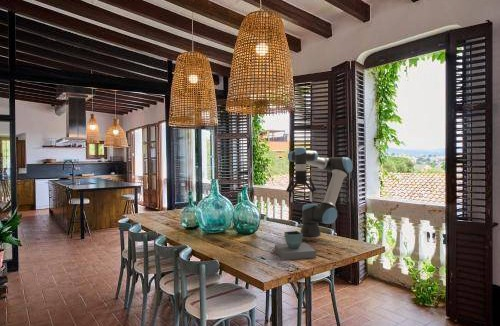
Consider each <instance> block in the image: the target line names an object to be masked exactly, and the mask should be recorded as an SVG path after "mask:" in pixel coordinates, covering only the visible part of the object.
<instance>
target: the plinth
mask: <svg viewBox="0 0 500 326" xmlns="http://www.w3.org/2000/svg"><path fill="white" fill-rule="evenodd" d="M274 252H275V253H276V254H277V255H278V256H279V257H280V258H281V259H282V261H285V260H289V261H290V260H300V259H316V258H317V250H315V248H313V247H311V246H310V245H309V244H307V243H306V242H302V243H301V245H300V247H299V248H290V247H288V245H287V243H275V244H274Z"/></svg>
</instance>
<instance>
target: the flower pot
mask: <svg viewBox="0 0 500 326" xmlns="http://www.w3.org/2000/svg"><path fill="white" fill-rule="evenodd" d="M283 233H284V240H285V244H287V245H288V247H290V248H299V247H300V245H301V243H303V242H302V241H303V236H302V235H303V234H302V233H300V231H298V230H293V231H284V232H283Z"/></svg>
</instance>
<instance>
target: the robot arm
mask: <svg viewBox="0 0 500 326" xmlns="http://www.w3.org/2000/svg"><path fill="white" fill-rule="evenodd" d="M287 159H288V161H289V162H293V163H294V164H295V167H294V170H295V172H294V173H295V175H294V177H291V178H290V182H289V184H288V186H287V188H286V190H285V191H286V192H288V197H289V198H290V203H293V202H294V201H293V200H294V199H293V197H294V195H293V191H294V189H295V188H296V187H297V186H298V185H305V186H306V188H307V189H309V202H313V197H314V192H315V191H317V189H316V187H315V185H314V183H313V181H312V177H310V176H307V165H308V166H312V167H316V168H317V169H319V170H323V171H325V172H329V173H332V176H331V179H330V182H329V184H328V186H327V190H326V193H325V196H324V199H323V201H321V202H320V204H317V203H309V204H303V205H302V207H301V208H302V209H301V212H302V215H301V217H302V225H301V228H300V231H299V232H300V233H302V234H303V235H302V237H308V238H309V237H320V236H321V235H322V234H321V229H320V226H319V223H321V224H327V225H328V224H329V225H330V224H331V225H332V224H333V223H335V221H336V220H337V218H338V210H337V207H336V202H337V199H338V198H339V197H338V196H339V194H340V190H341V187H342V185H343V182H344V179H345V178H346V177H347V176H348V174H350V173H352V171H353V161H352V160H351V158H349V157H346V156H343V157H324V156H323V157H319V153H318V152H317V150H307V148H306V147H296V148H295V149H294V150H293V151H291V150H290V151H289V152H288V153H287ZM294 181H295V182H294ZM307 181H308V182H309V184H308V182H307ZM293 183H294V184H293Z"/></svg>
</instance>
